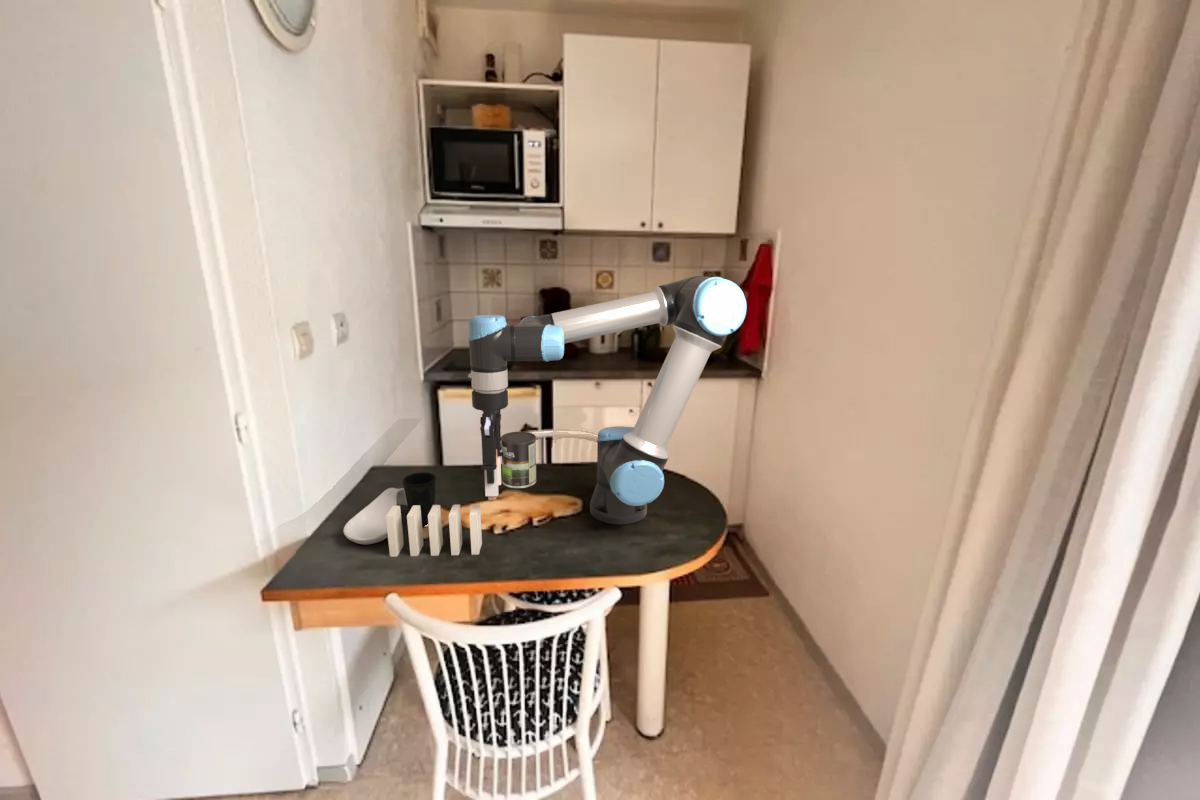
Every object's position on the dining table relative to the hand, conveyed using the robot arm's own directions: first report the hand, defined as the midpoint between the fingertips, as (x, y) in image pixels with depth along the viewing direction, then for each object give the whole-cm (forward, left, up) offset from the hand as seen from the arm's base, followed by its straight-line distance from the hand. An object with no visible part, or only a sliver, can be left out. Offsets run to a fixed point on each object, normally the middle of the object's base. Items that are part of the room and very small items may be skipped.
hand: (493, 489), depth 117 cm
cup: (+20, -13, -15) cm, 28 cm away
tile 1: (+4, 0, -15) cm, 15 cm away
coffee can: (-2, -37, -15) cm, 40 cm away
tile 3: (+13, 0, -15) cm, 20 cm away
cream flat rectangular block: (+22, 0, -15) cm, 27 cm away
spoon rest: (+29, -12, -15) cm, 35 cm away
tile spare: (0, 0, -1) cm, 1 cm away
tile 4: (+18, 0, -15) cm, 23 cm away
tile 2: (+9, 0, -15) cm, 17 cm away
